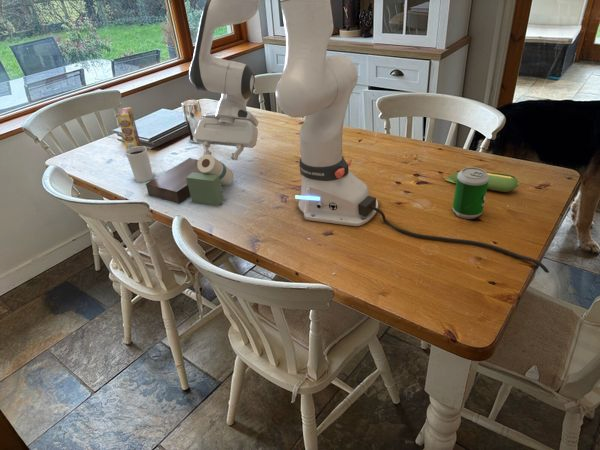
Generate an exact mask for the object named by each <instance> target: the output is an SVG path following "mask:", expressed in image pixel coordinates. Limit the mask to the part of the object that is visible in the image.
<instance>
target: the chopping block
mask: <svg viewBox="0 0 600 450" xmlns="http://www.w3.org/2000/svg"><path fill="white" fill-rule="evenodd" d="M198 160H199V159H196V158H191V157H189V158H187V159H185V160H183V161H182V162H180V163H179V164H177V165H175V166H174V167H171V168H170V169H168V170H167V171H165V172H163V173H161V174H160V175H158V176H156V177H154V178H152V179H151V180H148V181H147V182H145V187H146V190H147V194H148V196H150V197H154V198H158V199H161V200H165V201H169V202H172V203H175V204H176V203H177V204H181V203H183V202H184V201H186V200H187V199H189V198H191V196H190V192H189V188H188V183H187V179H186V177H188V176H189V175H190V174H191V173H192V172H194V173H202V172H201V171H200V170H199V169H198V167H197V163H198ZM203 174H204V173H203Z"/></svg>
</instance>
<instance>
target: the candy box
mask: <svg viewBox="0 0 600 450" xmlns="http://www.w3.org/2000/svg"><path fill="white" fill-rule="evenodd" d="M132 109H133V108H132V107H131V106H127V107H122V108H119V112H118V113H117V119H118V122H119V123H118V124H119V126H120V130H121V133H122V137H123V141H124V145H125V149H126V150H128V149H130V148H133V147H138V146H141V145H142V144H141V140H140V136H139V132H138V129H137V124H136V121H135V117H134V114H133V110H132Z"/></svg>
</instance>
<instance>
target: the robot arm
mask: <svg viewBox="0 0 600 450" xmlns="http://www.w3.org/2000/svg"><path fill="white" fill-rule="evenodd" d="M279 1H280V2H279V4H280V10H281V15H282V22H283V28H284V35H285V55H284V65H283V69H282V73H281V75H280V78H279V79H278V82H277V84H276V86H275V100H276V103H277V105H278V107H279V108H280V110H281V111H282V112H283V113H284V114H285V115H286V116H288V117H290V118H295V119H296V118H303V117H305V119H304V120H303V123H302V124H301V126H300V129H299V136H298V137H299V148H300V149H299V151H300V158H299V173H300V176H301V186H300V187H301V188H300V195H297V194H295V195H294V198H295V199H296V200H298V203H297V204H298V209H299V210H300V211H301V212H302V213H303V217H304V219H305V220H306V221H313V222H320V223H327V224H336V225H341V226H342V225H343V226H351V227H361V226H363V225H365V224H366V223H369V221H371V220H372V219H373V218H374V217H375V215H376V214H377V213H379V215H380V216H381V218H382V222H384V223H385V224H386V225H387V226H389V227H391V228H392V229H394V230H395V231H397V232H399V233H402V234H405V235H409V236H412V237H415V238H416V237H417V238H421V239H428V240H437V241H444V242H451V243H459V244H460V243H461V244H468V245H469V244H470V245H476V246H481V247H484V248H488V249H491V250H495V251H498V252H501V253H504V254H506V255H508V256H512V257H514V258H517V259H519V260H524V261H528V262H531V263H533V264H536V265H537V266H539V267H540V268H541V269H542V270H543V272H545V273H547V274H549V273H550V271H549V269H548V268H547V267H546V265H544V264H543V263H542V262H540V261H539V260H538V259H535V258H532V257H530V256H525V255H521V254H518V253H516V252H513V251H510V250H507V249H505V248H503V247H499V246H497V245H492V244H489V243H485V242H480V241H476V240H468V239H460V238H452V237H443V236H437V235H426V234H420V233H416V232H413V231H409V230H405V229H402V228H399V227H397V226H394V225H393V224H392V223H390V222H389V220H388V219H386V215H385V213H384V212H383V211H382V210H381V209H379V201H378V199H377V197H375V196H372V195H371V193H370V188H369V186H368V185H367V184H366V183H365V182H364V181H363V180H362V179H360V178H359V177H357V175H355V174H354V173H353V172H352V171H351V170H349V167H350V166H351V165H352V160H351V159H349V161H348V162H347V161H346V159H345V157H344V155H343V132H344V131H343V130H344V123H345V118H346V115H347V114H346V113H347V109H348V106H349V102H350V98H351V95H352V94H353V91H354V89H355V88H356V86H357V83H358V79H359V72H358V69H357V67H356V64H355V62H354V61H353V60H352V59H351V58H349V57H348V56H346V55H340V54H339V55H327V52H328V46H329V42H330V39H331V37H332V35H333V33H334V19H333V13H332V4H331V0H279ZM260 6H261V0H206V1H205V3H204V5H203V8H202V12H201V16H200V20H199V25H198V29H197V34H196V39H195V44H194V45H195V46H194V50H193V56H192V60H191V63H190V66H189V71H188V77H189V78H188V79H189V81H190V83H191V84H192V85H193V87H194V88H195V89H196V90H197V91H204V92H212V93H217V94H221V97H220V99H219V101H218V104H217V108H216V111H215V114H208V113H207V114H204V115H202V117H201V118H200V120H199V124H198V126H197V128H196V131H195V134H194V138H195V140H196V141H198V142H199V143H198V144H202V146H203V150H204V152H203V155H205V154H210V155H212V151H210V149H209V148H210V147H211V145H214V146H215V145H216V146H228V147H236V150H235V151H234V152H231V156H230V159H231V160H232V161H238V159H239V156H240V155H241V154H242V152H243V151H244V149H245V148H249V149H253V148H254V147H255V146H257V142H258V137H259V136H258V135H259V129H258V128H257V127H258V126H259V120H258V119H257V118H256V117H255V115H254V114H253V113H252V112H250V111H248V110H247V104H248V101H249V100H250V98H251V97H252V96H253V92H254V86H255V82H256V76H255V73H254V72H253V69H251V67H250V66H249V65H248V64H246V63H243V62H238V61H234V60H229V59H224V58H221V57H216V56H213V55H212V54H211V51H212V45H213V40H214V36H215V31H216V30H217V29H220V28H222V27H226V26H233V25H239V24H242V23H245V22H247V21H249V20H250V19H252V18H253V17H254V16H256V14H257V13H258V11H259V9H260ZM517 390H518V391H520V392H521V391H522V390H521V389H520V388H518V389H517Z"/></svg>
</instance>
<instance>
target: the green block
mask: <svg viewBox="0 0 600 450" xmlns="http://www.w3.org/2000/svg"><path fill="white" fill-rule="evenodd" d="M186 179H187V183H188V188H189V192H190V200H191V203H193V204H202V205H208V206H216V207H219V206H220V205H221V204H222V203H223V202H224V200H225V199H224V194H223V193H224V192H223V188H222V185H221V182H220V177H219V175H211V174H203V173H194V172H192V173H191V174H190V175H189V176H188V177H186Z"/></svg>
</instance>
